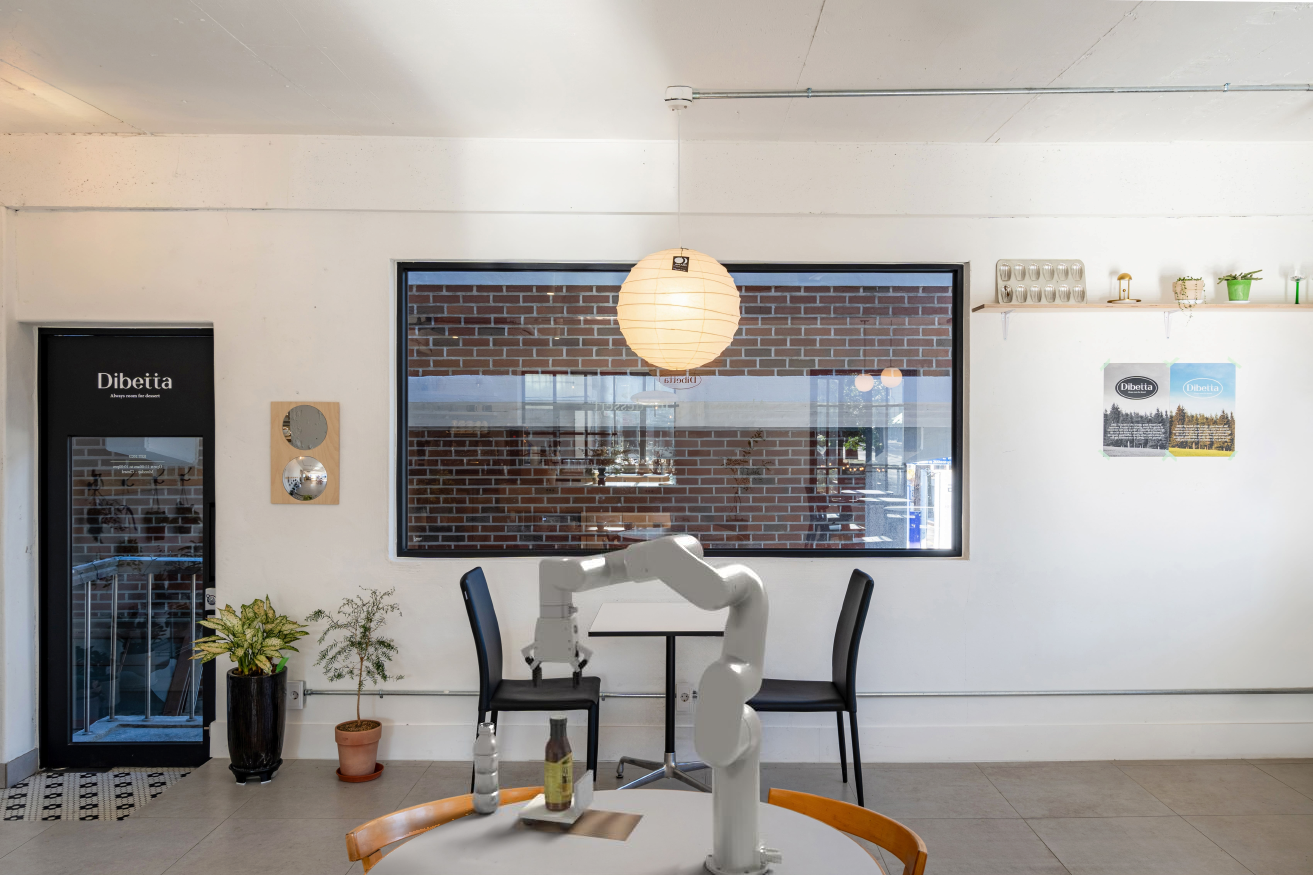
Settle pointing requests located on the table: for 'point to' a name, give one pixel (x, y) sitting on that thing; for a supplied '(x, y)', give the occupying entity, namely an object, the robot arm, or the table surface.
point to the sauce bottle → (558, 766)
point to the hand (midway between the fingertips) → (557, 687)
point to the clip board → (592, 825)
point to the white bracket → (566, 816)
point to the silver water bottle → (486, 770)
